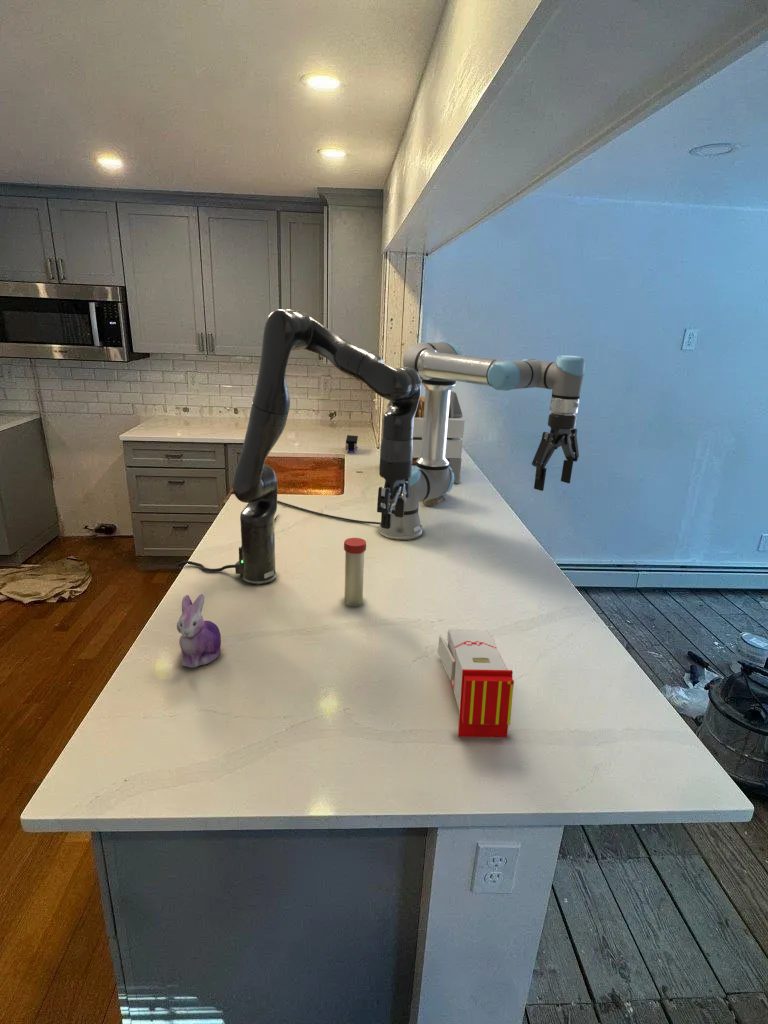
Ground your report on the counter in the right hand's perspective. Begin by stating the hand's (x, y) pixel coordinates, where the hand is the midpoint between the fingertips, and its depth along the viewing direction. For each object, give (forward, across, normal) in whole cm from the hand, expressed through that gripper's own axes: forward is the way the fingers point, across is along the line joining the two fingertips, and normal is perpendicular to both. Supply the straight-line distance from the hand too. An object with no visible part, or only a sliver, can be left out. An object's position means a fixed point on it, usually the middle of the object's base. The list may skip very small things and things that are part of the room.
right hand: (552, 485), depth 166 cm
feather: (+28, -42, +85) cm, 99 cm away
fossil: (+28, +24, +68) cm, 77 cm away
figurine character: (+28, +45, +153) cm, 162 cm away
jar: (+28, -58, +19) cm, 67 cm away
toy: (+28, -62, -26) cm, 72 cm away
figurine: (+28, -100, +19) cm, 106 cm away
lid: (+11, -58, +19) cm, 62 cm away
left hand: (+2, -56, +7) cm, 56 cm away
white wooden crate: (+28, +46, +101) cm, 115 cm away
